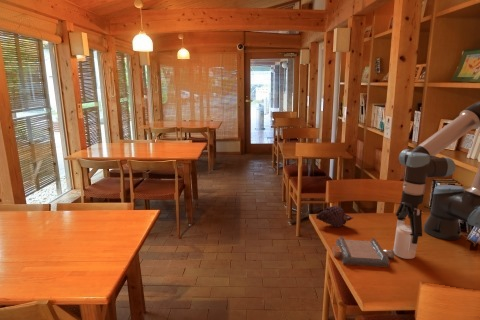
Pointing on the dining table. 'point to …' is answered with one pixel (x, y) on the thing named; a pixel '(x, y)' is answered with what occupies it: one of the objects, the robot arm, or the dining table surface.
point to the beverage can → (403, 242)
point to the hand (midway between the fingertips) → (405, 242)
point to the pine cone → (333, 216)
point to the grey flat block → (362, 252)
